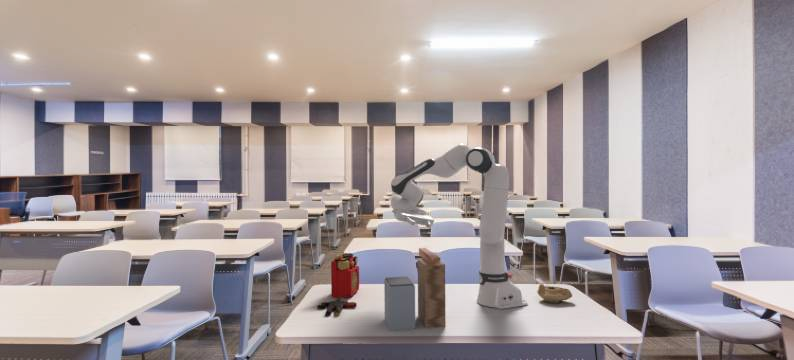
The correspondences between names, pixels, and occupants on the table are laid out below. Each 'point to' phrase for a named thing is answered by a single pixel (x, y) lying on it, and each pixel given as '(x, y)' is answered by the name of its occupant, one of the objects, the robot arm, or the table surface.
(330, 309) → the toy
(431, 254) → the bar
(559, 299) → the oil lamp
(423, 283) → the post
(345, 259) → the radio
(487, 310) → the table surface
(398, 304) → the dock
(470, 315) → the table surface
